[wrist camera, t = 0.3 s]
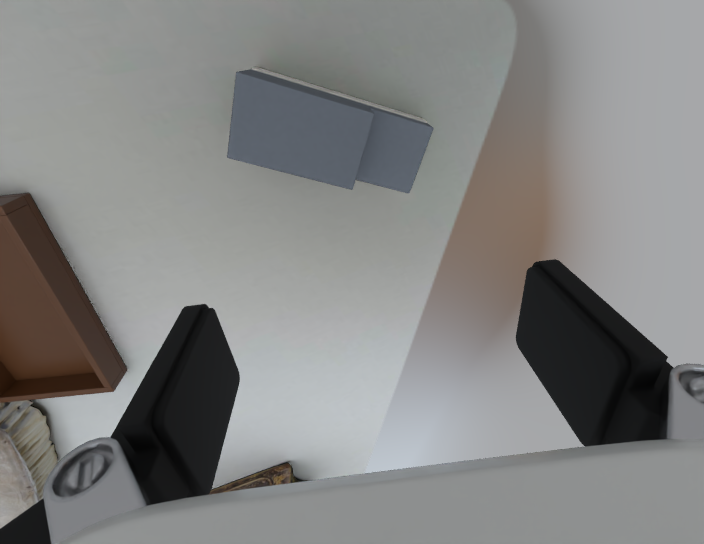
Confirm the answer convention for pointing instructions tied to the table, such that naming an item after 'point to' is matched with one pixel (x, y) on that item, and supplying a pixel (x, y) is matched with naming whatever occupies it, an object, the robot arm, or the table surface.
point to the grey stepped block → (323, 133)
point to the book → (261, 479)
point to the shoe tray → (46, 316)
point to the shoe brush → (23, 458)
